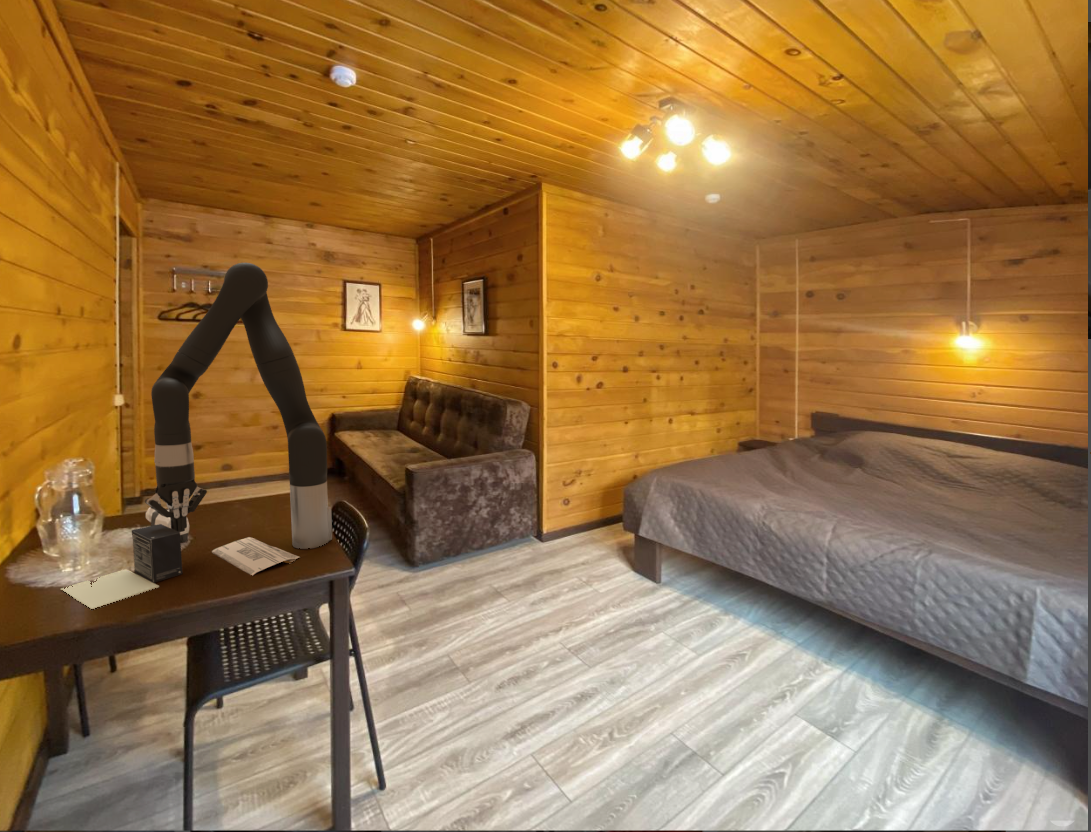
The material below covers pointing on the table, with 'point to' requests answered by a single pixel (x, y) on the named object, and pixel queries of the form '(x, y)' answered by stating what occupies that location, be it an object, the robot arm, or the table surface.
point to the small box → (157, 552)
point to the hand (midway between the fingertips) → (179, 531)
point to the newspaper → (252, 555)
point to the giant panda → (165, 522)
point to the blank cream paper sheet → (109, 588)
